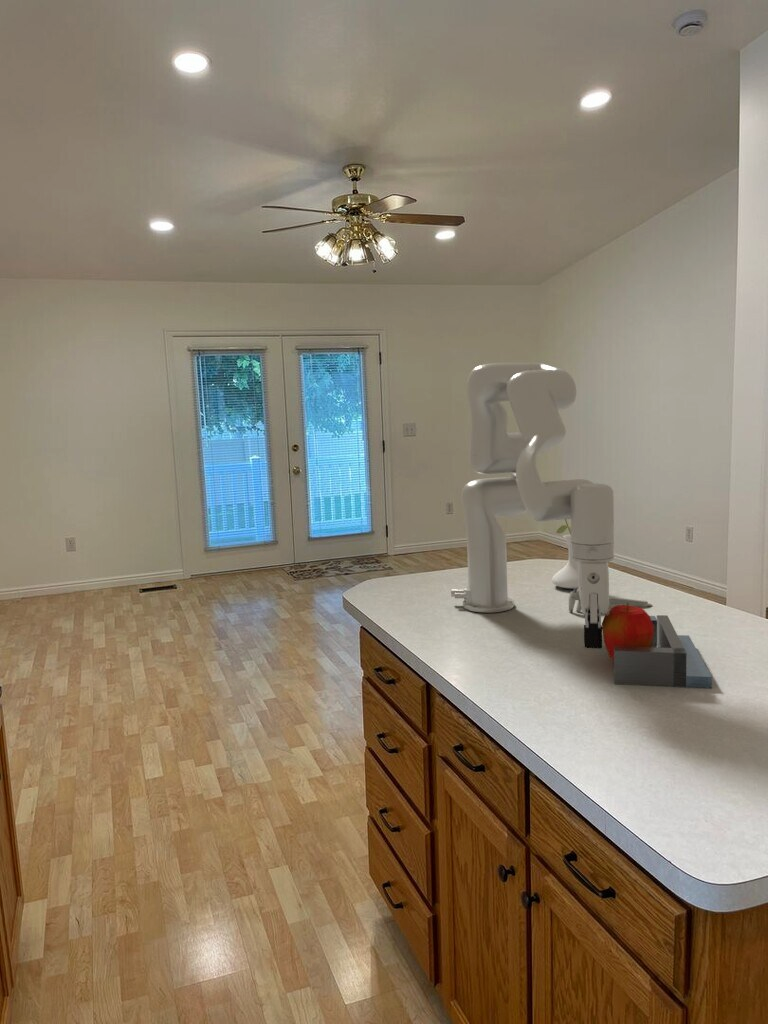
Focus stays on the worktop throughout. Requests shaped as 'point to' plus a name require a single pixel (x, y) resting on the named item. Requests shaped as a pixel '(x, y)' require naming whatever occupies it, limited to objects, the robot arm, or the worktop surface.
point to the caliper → (617, 601)
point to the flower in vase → (567, 566)
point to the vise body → (662, 661)
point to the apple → (627, 628)
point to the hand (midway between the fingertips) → (593, 646)
